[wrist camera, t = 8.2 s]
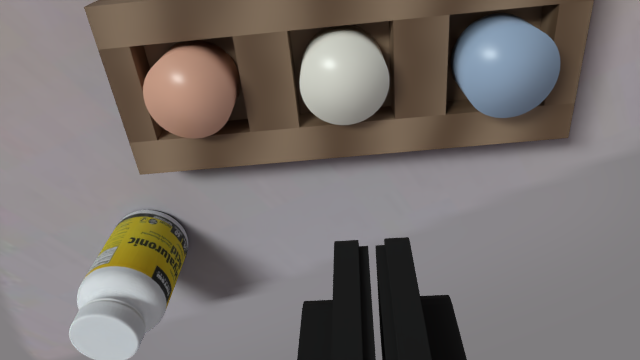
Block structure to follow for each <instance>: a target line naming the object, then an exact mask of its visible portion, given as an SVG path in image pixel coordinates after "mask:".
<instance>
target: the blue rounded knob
mask: <svg viewBox="0 0 640 360" xmlns="http://www.w3.org/2000/svg"><path fill="white" fill-rule="evenodd" d="M451 72H452V75H453V78H454V80H455V81H456V83H457V84H458V86H459V87H460V88H461V90H462V91H463V93H464V94H465V95H466V97H467V98H468V100H469V101H470V102H471V104H472V105H473V106H474V107H475V108H476V109H477V110H478V111H480V112H481V113H483V114H485V115H488V116H491V117H495V118H510V117H515V116H519V115H522V114H524V113H526V112H528V111H530V110H532V109H533V108H535V107H536V106H538V105H539V104H540V103H541V102H542V101H543V100H544V99H545V98H546V97H547V96H548V95H549V94H550V92H551V91H552V89H553V88H554V86H555V84H556V82H557V79H558V76H559V72H560V55H559V51H558V48H557V46H556V44H555V43H554V41H553V40H552V39H551V38H550V37H549V36H548V35H547V34H546V33H544V32H542V31H541V30H539V29H538V28H536V27H534V26H533V25H531V24H530V23H528V22H526V21H525V20H523V19H522V18H520V17H518V16H516V15H513V14H508V13H496V14H490V15H487V16H484V17H482V18H480V19H478V20H476V21H475V22H473V23H472V24H470V25H469V26H468V27H467V28H466V29H465V30H464V31H463V32H462V33H461V35H460V36H459V38H458V39H457V41H456V43H455V45H454V48H453V50H452V54H451Z"/></svg>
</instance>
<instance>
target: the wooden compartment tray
mask: <svg viewBox="0 0 640 360" xmlns="http://www.w3.org/2000/svg"><path fill="white" fill-rule="evenodd" d="M593 2H594V0H98V1H96V2H93V3H91V4H89V5H87V6H85V7H84V9H85V12H86V15H87V18H88V21H89V24H90V27H91V30H92V32H93V35H94V38H95V41H96V44H97V47H98V50H99V53H100V56H101V59H102V62H103V65H104V68H105V71H106V74H107V77H108V80H109V83H110V86H111V89H112V92H113V95H114V98H115V101H116V104H117V107H118V110H119V113H120V116H121V119H122V122H123V125H124V128H125V131H126V134H127V137H128V140H129V143H130V146H131V149H132V152H133V155H134V158H135V161H136V164H137V167H138V170H139V173H140V175H141V174H152V173H164V172H176V171H187V170H199V169H211V168H222V167H234V166H246V165H257V164H269V163H281V162H292V161H304V160H316V159H327V158H339V157H351V156H362V155H374V154H386V153H397V152H409V151H421V150H432V149H444V148H456V147H467V146H479V145H491V144H502V143H514V142H526V141H537V140H549V139H561V138H568V136H569V131H570V125H571V120H572V115H573V109H574V104H575V99H576V93H577V88H578V82H579V77H580V72H581V66H582V61H583V56H584V50H585V45H586V40H587V34H588V29H589V23H590V18H591V13H592V7H593ZM496 13H508V14H513V15H516V16H518V17H520V18H522V19H523V20H525V21H526V22H528V23H530V24H531V25H533V26H534V27H536V28H538V29H539V30H541V31H542V32H544V33H546V34H547V35H548V36H549V37H550V38H551V39H552V40H553V41H554V43H555V44H556V46H557V48H558V51H559V55H560V72H559V76H558V79H557V82H556V84H555V86H554V88H553V89H552V91H551V92H550V94H549V95H548V96H547V97H546V98H545V99H544V100H543V101H542V102H541V103H540V104H539V105H538V106H536V107H535V108H533V109H532V110H530V111H528V112H526V113H524V114H522V115H519V116H515V117H510V118H495V117H491V116H488V115H485V114H483V113H481V112H480V111H478V110H477V109H476V108H475V107H474V106H473V105H472V104H471V102H470V101H469V100H468V98H467V97H466V95H465V94H464V93H463V91H462V90H461V88H460V87H459V86H458V84H457V83H456V81H455V80H454V78H453V75H452V72H451V54H452V50H453V48H454V45H455V43H456V41H457V39H458V38H459V36H460V35H461V33H462V32H463V31H464V30H465V29H466V28H467V27H468V26H469V25H470V24H472V23H473V22H475V21H476V20H478V19H480V18H482V17H484V16H487V15H490V14H496ZM342 25H351V26H355V27H358V28H361V29H362V30H364V31H366V32H367V33H368V34H370V35H371V36H372V37H373V38H374V39H375V41H376V42H377V44H378V46H379V47H380V50H381V53H382V55H383V58H384V60H385V63H386V65H387V68H388V72H389V90H388V93H387V96H386V99H385V101H384V102H383V104H382V106H381V107H380V108H379V109H378V111H376V112H375V113H374V114H373V115H372V116H370V117H369V118H367V119H366V120H364V121H361V122H359V123H356V124H351V125H336V124H331V123H328V122H325V121H323V120H321V119H320V118H318V117H317V116H315V115H314V114H313V113H312V112H311V111H310V110H309V109H308V107H307V106H306V104H305V103H304V101H303V98H302V95H301V92H300V72H301V62H302V56H303V53H304V50H305V48H306V46H307V44H308V43H309V42H310V40H311V39H312V38H313V37H314V36H315V35H316V34H317V33H319V32H320V31H322V30H324V29H326V28H328V27H332V26H342ZM191 40H203V41H207V42H210V43H213V44H215V45H217V46H218V47H220V48H221V49H223V50H224V51H225V52H226V53H227V54H228V55H229V56H230V57H231V58H232V60H233V61H234V63H235V65H236V67H237V69H238V72H239V76H240V91H239V94H238V97H237V100H236V102H235V105H234V107H233V110H232V112H231V115H230V117H229V119H228V121H227V122H226V124H225V125H224V126H223V127H222V128H221V129H220V130H219V131H218V132H216V133H214V134H212V135H210V136H207V137H204V138H196V139H192V138H184V137H180V136H177V135H174V134H172V133H170V132H168V131H167V130H165V129H164V128H162V127H161V126H160V125H159V124H158V123H157V122H156V121H155V120H154V119H153V118H152V116H151V115H150V113H149V111H148V109H147V107H146V105H145V101H144V97H143V85H144V81H145V78H146V75H147V74H148V72H149V70H150V69H151V68H152V67H153V65H154V64H155V63H156V62H157V61H158V60H159V59H160V58H161V57H162V56H163V55H164V54H165V53H166V52H167V51H168V50H169V49H170V48H171V47H172V46H174V45H175V44H177V43H179V42H182V41H191Z"/></svg>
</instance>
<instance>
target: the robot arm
mask: <svg viewBox="0 0 640 360" xmlns="http://www.w3.org/2000/svg"><path fill="white" fill-rule="evenodd" d="M384 243H385V245H377V246H376V263H377V279H378V280H377V281H378V299H379V316H380V333H381V347H382V360H467V359H466V355H465V352H464V348H463V344H462V340H461V336H460V332H459V328H458V325H457V321H456V317H455V313H454V309H453V305H452V302H451V299H450V297H449V295H435V296H420V294H419V289H418V284H417V278H416V273H415V267H414V262H413V257H412V252H411V246H410V241H409V238H408V237H406V238H388V239H384ZM297 360H376V359H375V344H374V330H373V315H372V299H371V284H370V270H369V255H368V246H359V243H358V240H351V241H335V242H334V274H333V300H322V301H304V304H303V308H302V319H301V328H300V338H299V348H298V359H297Z"/></svg>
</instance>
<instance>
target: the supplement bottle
mask: <svg viewBox="0 0 640 360" xmlns="http://www.w3.org/2000/svg"><path fill="white" fill-rule="evenodd" d="M187 250H188V237H187V234H186V232H185V230H184V229H183V227H182V226H181V225H180V224H179V223H178V222H177V221H176V220H175V219H173V218H172V217H170V216H169V215H167V214H164V213H162V212H158V211H154V210H140V211H136V212H133V213H130V214H129V215H127V216H125V217H124V218H123V219H122V220H121V221H120V222H119V224H118V225H117V226H116V228H115V230H114V231H113V233H112V234H111V236H110V238H109V239H108V241H107V242H106V244H105V246H104V247H103V249H102V251H101V252H100V254H99V255H98V257H97V259H96V260H95V262H94V264H93V265H92V267H91V269H90V270H89V272H88V273H87V275H86V277H85V278H84V280H83V282H82V283H81V285H80V288H79V290H78V294H77V304H78V308H79V312H78V313H77V315H76V317H75V319H74V321H73V323H72V324H71V327H70V330H69V337H70V340H71V342H72V344H73V345H74V347H75V348H76V349H77V350H78V351H79V352H81V353H82V354H84V355H85V356H87V357H89V358H92V359H95V360H127V359H129V358H131V357H132V356H133V355H134V354H135V353H136V352H137V351H138V348H139V346H140V344H141V341H142V339H143V338H144V335H145V333H146V332H148V331H150V330H151V329H153V328H154V327H155V326H156V325H157V324H158V323H159V322H160V321H161V319H162V317H163V315H164V313H165V311H166V308H167V305H168V303H169V300H170V297H171V295H172V292H173V289H174V287H175V284H176V281H177V279H178V276H179V273H180V271H181V268H182V265H183V263H184V260H185V257H186V254H187Z"/></svg>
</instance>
